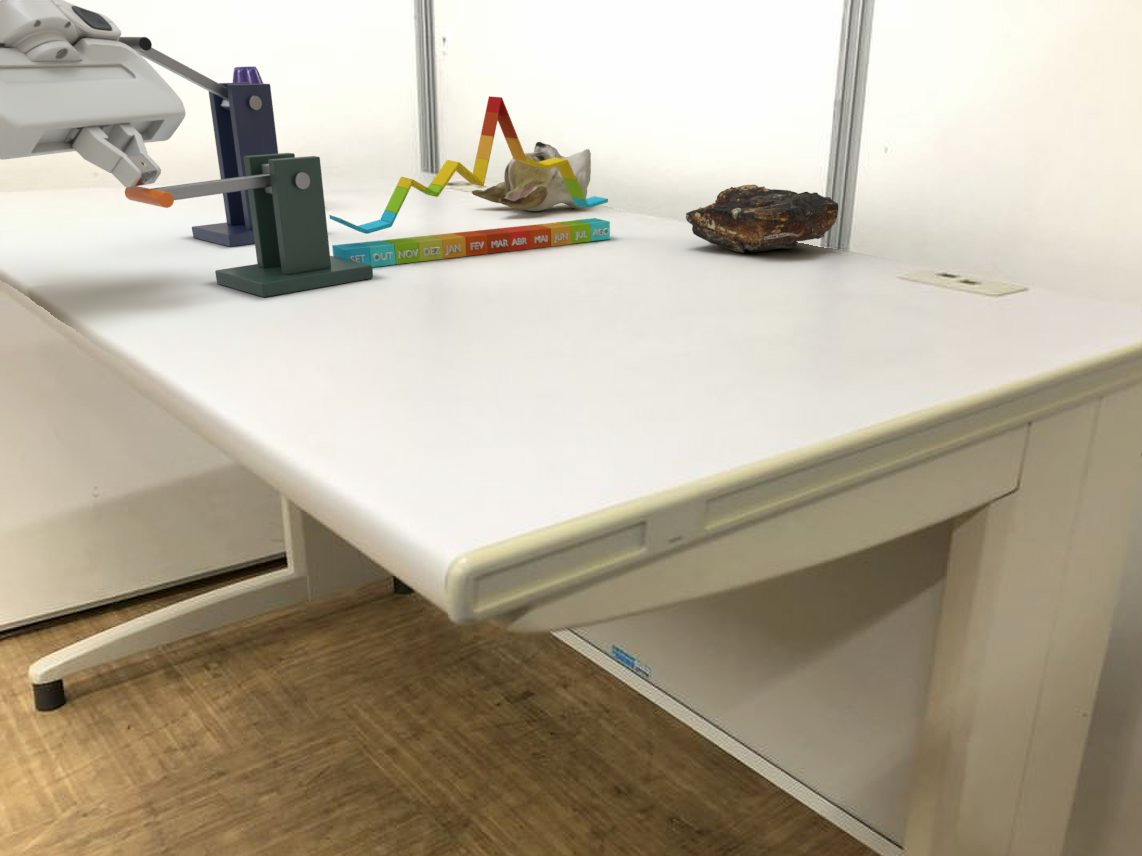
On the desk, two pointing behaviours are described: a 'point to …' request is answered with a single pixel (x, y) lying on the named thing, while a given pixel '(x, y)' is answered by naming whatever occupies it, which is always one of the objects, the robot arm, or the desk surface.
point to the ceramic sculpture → (538, 181)
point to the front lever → (199, 189)
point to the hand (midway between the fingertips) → (145, 180)
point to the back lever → (176, 67)
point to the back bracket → (239, 155)
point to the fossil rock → (763, 218)
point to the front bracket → (290, 232)
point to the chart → (480, 239)
